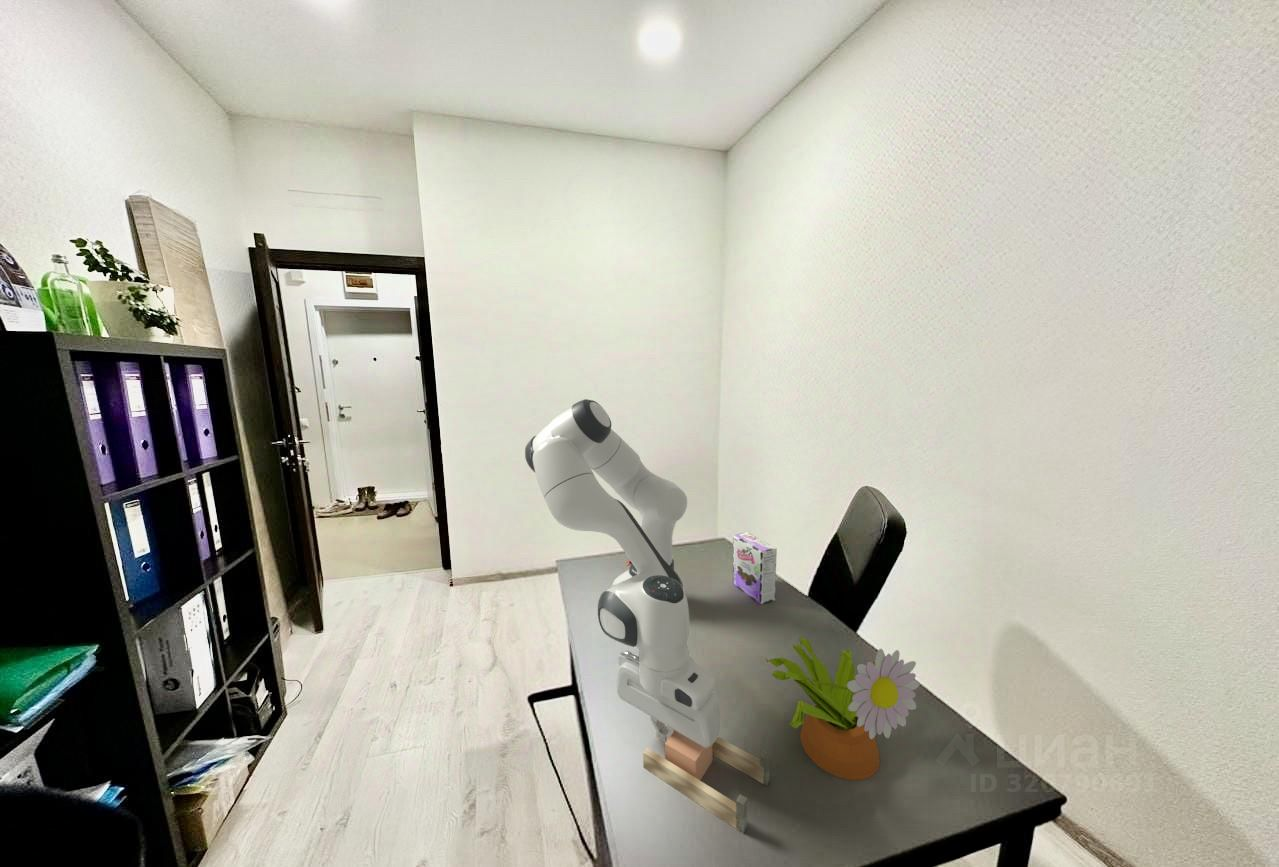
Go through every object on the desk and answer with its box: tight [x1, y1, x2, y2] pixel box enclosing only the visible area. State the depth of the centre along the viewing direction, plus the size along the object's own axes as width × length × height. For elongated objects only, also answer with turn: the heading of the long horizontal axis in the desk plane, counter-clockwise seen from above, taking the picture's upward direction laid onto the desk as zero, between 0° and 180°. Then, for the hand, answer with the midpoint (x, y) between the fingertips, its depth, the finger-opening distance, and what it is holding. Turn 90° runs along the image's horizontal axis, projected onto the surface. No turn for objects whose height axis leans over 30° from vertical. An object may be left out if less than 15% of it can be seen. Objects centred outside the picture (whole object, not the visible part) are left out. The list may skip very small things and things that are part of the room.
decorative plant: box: [765, 637, 921, 781], centre depth 79 cm, size 27×24×25 cm
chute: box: [642, 736, 771, 834], centre depth 75 cm, size 19×10×5 cm, turn 53°
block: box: [664, 731, 713, 781], centre depth 77 cm, size 6×6×5 cm
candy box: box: [732, 531, 778, 605], centre depth 132 cm, size 14×6×16 cm, turn 23°
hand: (665, 739), depth 79 cm, fingers closed
